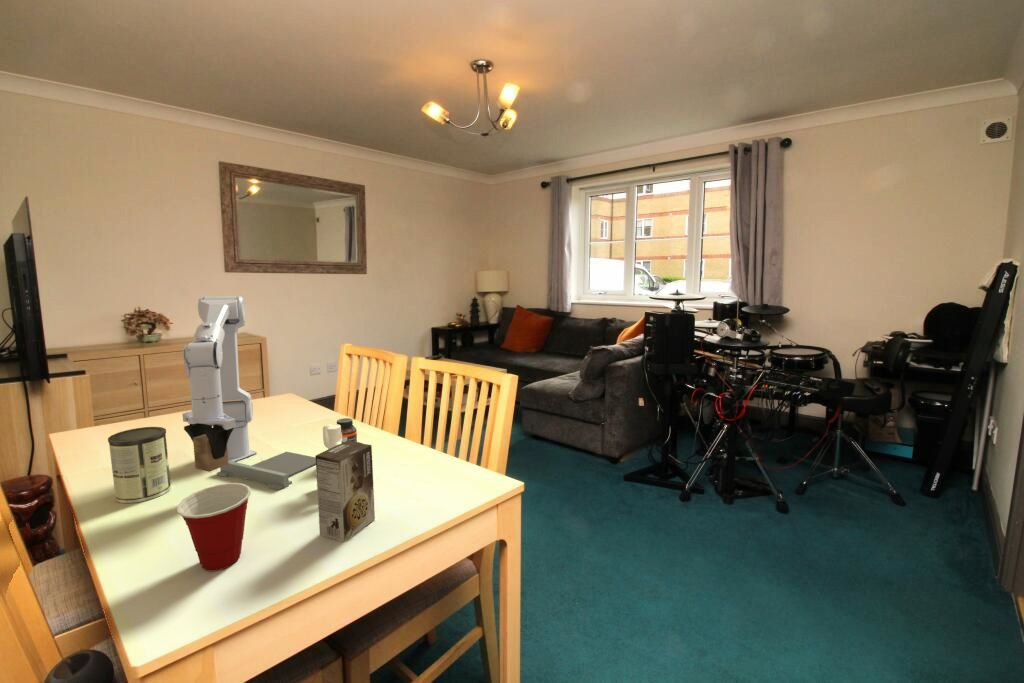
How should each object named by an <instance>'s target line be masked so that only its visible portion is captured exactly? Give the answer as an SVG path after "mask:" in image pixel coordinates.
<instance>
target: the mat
mask: <svg viewBox="0 0 1024 683" xmlns="http://www.w3.org/2000/svg"><path fill="white" fill-rule="evenodd" d="M251 466H255V467H259V468H263V469H268V470H272V471H277V472H281V473H286V474H288V479H290V478H291V477H293V476H296V475H297V474H300V473H301V472H304V471H306V470H309V469H311V468H314V467H316V457H315V456H309V455H306V454H302V453H301V454H300V453H295V452H291V451H284V452H282V453H279V454H277V455H275V456H272V457H269V458H267V459H264V460H262V461H260V462H256V463H254V464H252V465H251Z"/></svg>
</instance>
